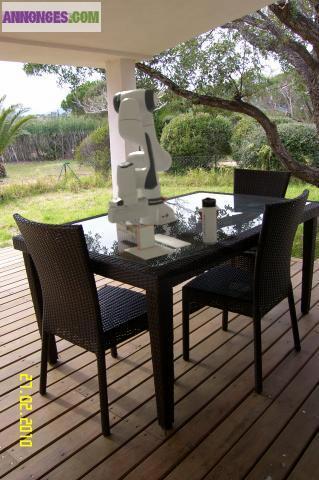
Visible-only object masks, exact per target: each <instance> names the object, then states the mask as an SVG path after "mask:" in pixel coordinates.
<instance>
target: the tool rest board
mask: <svg viewBox="0 0 319 480" xmlns="http://www.w3.org/2000/svg"><path fill="white" fill-rule="evenodd" d="M154 236H155V242H158V243H160V244H164V245H166V246H168V247H170V248H171V247H172V248H173V249H180V248H184V247H188V246H192V243H190V242H187V241H184V240H181V239H179V238H174V237H172V236H169V235H166V234H163V233H157V234H154Z"/></svg>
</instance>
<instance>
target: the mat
mask: <svg viewBox="0 0 319 480" xmlns="http://www.w3.org/2000/svg"><path fill="white" fill-rule="evenodd" d="M123 251H125V252H126V253H129V254H132V255H134V256H136V257H138V258H140V259H143V260H149V259H153V258H157V257H160V256H164V255H169V254H172V253H175V252H177V250H176V249H174V248H171V247H169V246H168V247H167V246H165V245H162V244H161V243H160V244H159V243H156V242H155V246H154V247H150V248H147V249H143V250H138V245H136V246H132V247H129V248H125V249H123Z"/></svg>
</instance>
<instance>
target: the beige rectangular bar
mask: <svg viewBox="0 0 319 480" xmlns="http://www.w3.org/2000/svg"><path fill="white" fill-rule="evenodd" d="M125 225H126V226H128V229H129V230H127V231H125V230H124V226H123V225H122V224H121V222H119V223H116V226H117V227H116V229H117V230H118V231H120V232H123V233H125V234H129V235H131V236H134V239H135V238H136V239H137V228H136V227H140V226H141V225H138V224H137V225H135V224H134V223H132V222H128V221H126V223H125Z"/></svg>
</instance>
